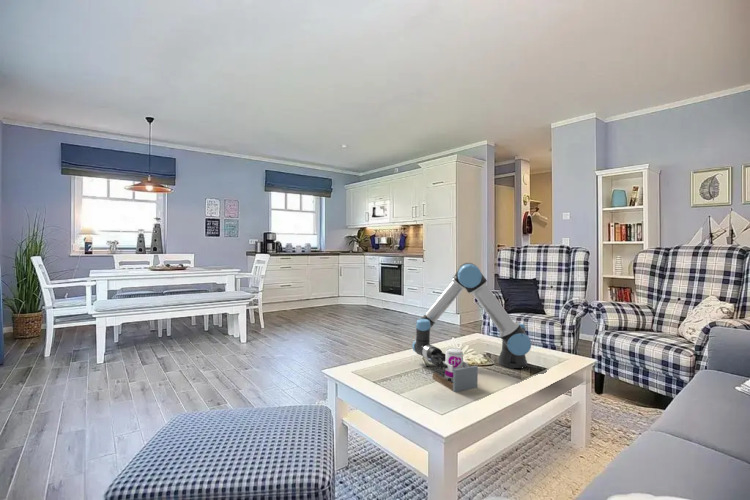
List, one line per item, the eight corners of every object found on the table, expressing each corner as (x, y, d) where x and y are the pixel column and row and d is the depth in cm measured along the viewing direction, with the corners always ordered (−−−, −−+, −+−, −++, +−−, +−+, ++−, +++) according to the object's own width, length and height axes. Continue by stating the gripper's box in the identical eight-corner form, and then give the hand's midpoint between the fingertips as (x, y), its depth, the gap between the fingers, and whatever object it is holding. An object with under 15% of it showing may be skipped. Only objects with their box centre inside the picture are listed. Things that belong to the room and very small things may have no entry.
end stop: (475, 386, 180) (475, 365, 179) (477, 387, 179) (477, 366, 178) (452, 390, 174) (453, 369, 174) (454, 392, 173) (455, 370, 172)
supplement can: (462, 385, 179) (463, 353, 178) (444, 383, 181) (445, 352, 180) (462, 378, 187) (463, 348, 186) (444, 377, 189) (445, 347, 188)
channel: (453, 374, 194) (454, 369, 194) (475, 386, 180) (475, 381, 180) (432, 378, 189) (432, 373, 188) (452, 390, 174) (452, 385, 174)
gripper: (448, 358, 204) (477, 372, 184) (415, 363, 195) (441, 378, 175) (449, 344, 204) (477, 357, 184) (415, 348, 195) (442, 362, 174)
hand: (460, 367), depth 179 cm, fingers closed on supplement can, 8 cm apart
